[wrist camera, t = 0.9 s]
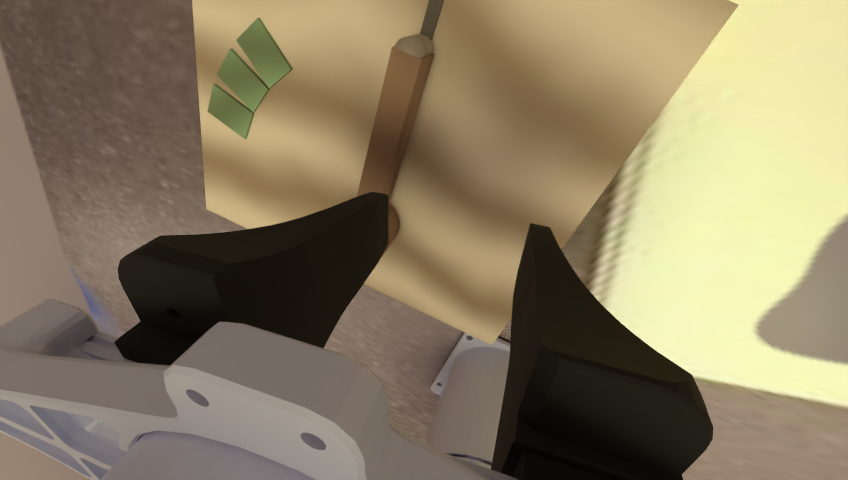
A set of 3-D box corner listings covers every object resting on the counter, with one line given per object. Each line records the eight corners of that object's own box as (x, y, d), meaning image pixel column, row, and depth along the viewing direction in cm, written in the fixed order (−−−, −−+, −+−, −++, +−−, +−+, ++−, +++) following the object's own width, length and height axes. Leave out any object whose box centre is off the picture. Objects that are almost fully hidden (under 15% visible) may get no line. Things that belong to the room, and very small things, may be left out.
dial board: (494, 333, 27) (491, 347, 26) (218, 202, 29) (204, 210, 28) (726, 4, 14) (740, 4, 13) (200, -204, 16) (173, -219, 15)
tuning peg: (391, 251, 24) (372, 281, 22) (344, 229, 25) (319, 255, 22) (461, 49, 17) (443, 57, 14) (391, 19, 17) (361, 22, 14)
